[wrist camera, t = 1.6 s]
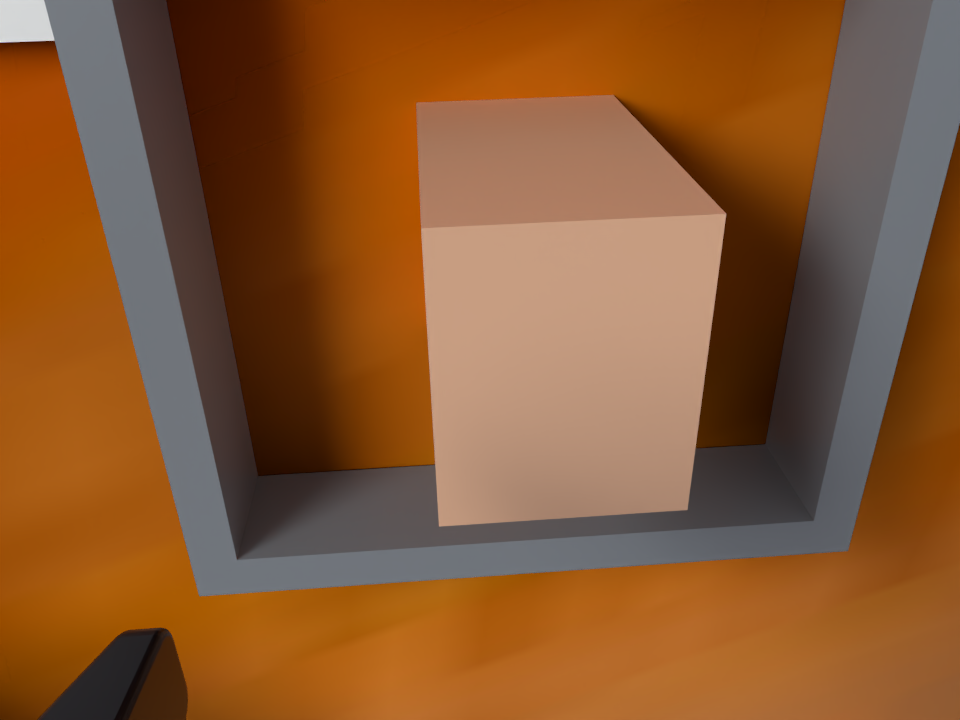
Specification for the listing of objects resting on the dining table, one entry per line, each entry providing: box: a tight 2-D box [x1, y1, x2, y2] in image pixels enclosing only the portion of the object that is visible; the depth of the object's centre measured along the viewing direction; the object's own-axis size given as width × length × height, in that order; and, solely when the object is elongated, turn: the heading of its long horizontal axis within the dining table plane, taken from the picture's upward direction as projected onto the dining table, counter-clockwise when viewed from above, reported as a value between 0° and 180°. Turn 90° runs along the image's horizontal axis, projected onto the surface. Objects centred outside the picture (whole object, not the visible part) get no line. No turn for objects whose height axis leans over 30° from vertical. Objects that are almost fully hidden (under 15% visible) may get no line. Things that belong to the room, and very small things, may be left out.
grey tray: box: [44, 0, 960, 596], centre depth 17 cm, size 15×15×3 cm
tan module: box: [416, 95, 726, 527], centre depth 15 cm, size 5×4×7 cm
